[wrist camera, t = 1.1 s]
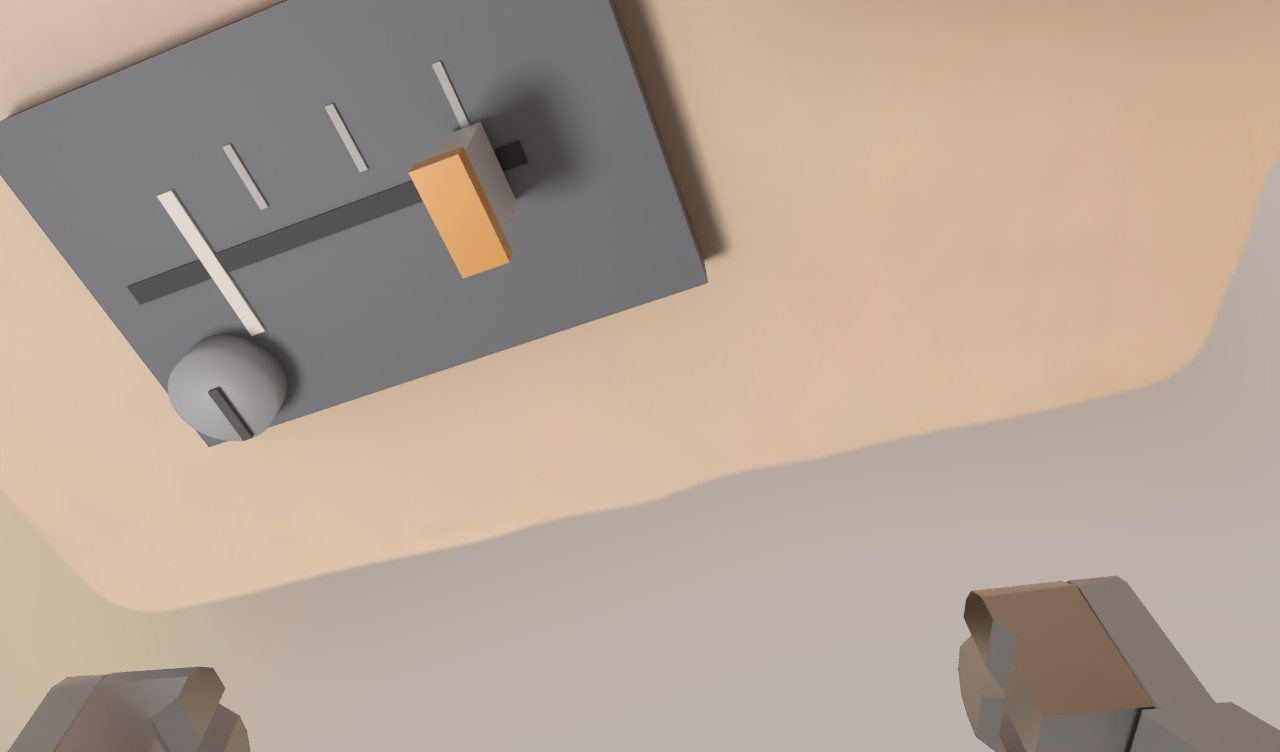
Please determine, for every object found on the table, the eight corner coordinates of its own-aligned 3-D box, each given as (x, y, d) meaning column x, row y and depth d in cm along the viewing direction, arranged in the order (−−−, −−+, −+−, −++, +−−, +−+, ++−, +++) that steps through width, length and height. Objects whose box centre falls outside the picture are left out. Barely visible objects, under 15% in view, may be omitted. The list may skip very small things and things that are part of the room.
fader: (481, 111, 29) (457, 154, 25) (525, 207, 31) (509, 262, 27) (438, 127, 29) (408, 172, 25) (484, 222, 31) (462, 278, 27)
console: (570, -120, 28) (563, -116, 25) (704, 261, 35) (711, 303, 31) (5, 119, 31) (-65, 149, 28) (227, 420, 38) (191, 471, 35)
